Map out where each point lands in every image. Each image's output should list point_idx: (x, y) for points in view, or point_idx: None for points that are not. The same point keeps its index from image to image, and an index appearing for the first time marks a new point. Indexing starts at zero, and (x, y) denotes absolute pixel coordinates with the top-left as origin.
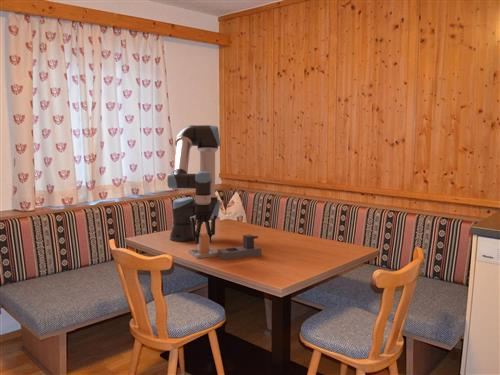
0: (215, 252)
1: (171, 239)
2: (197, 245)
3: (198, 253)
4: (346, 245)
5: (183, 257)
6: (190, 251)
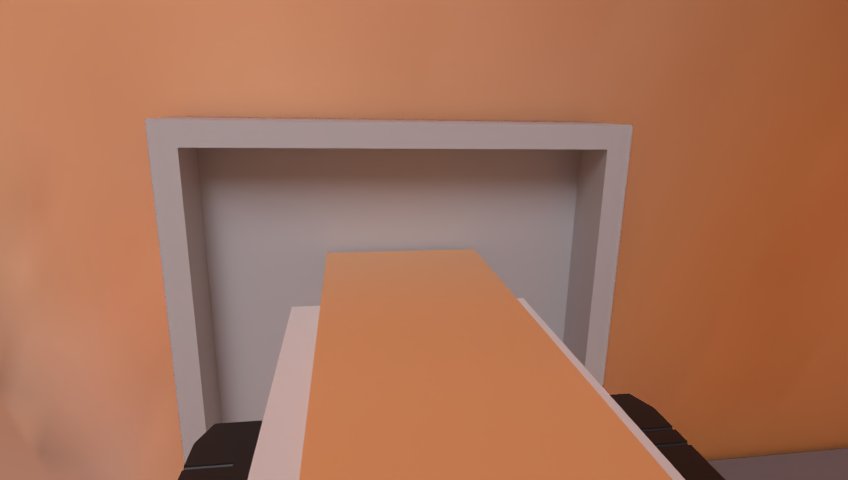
0: None
1: None
2: (281, 364)
3: (335, 240)
4: None
5: (18, 279)
6: (160, 221)
